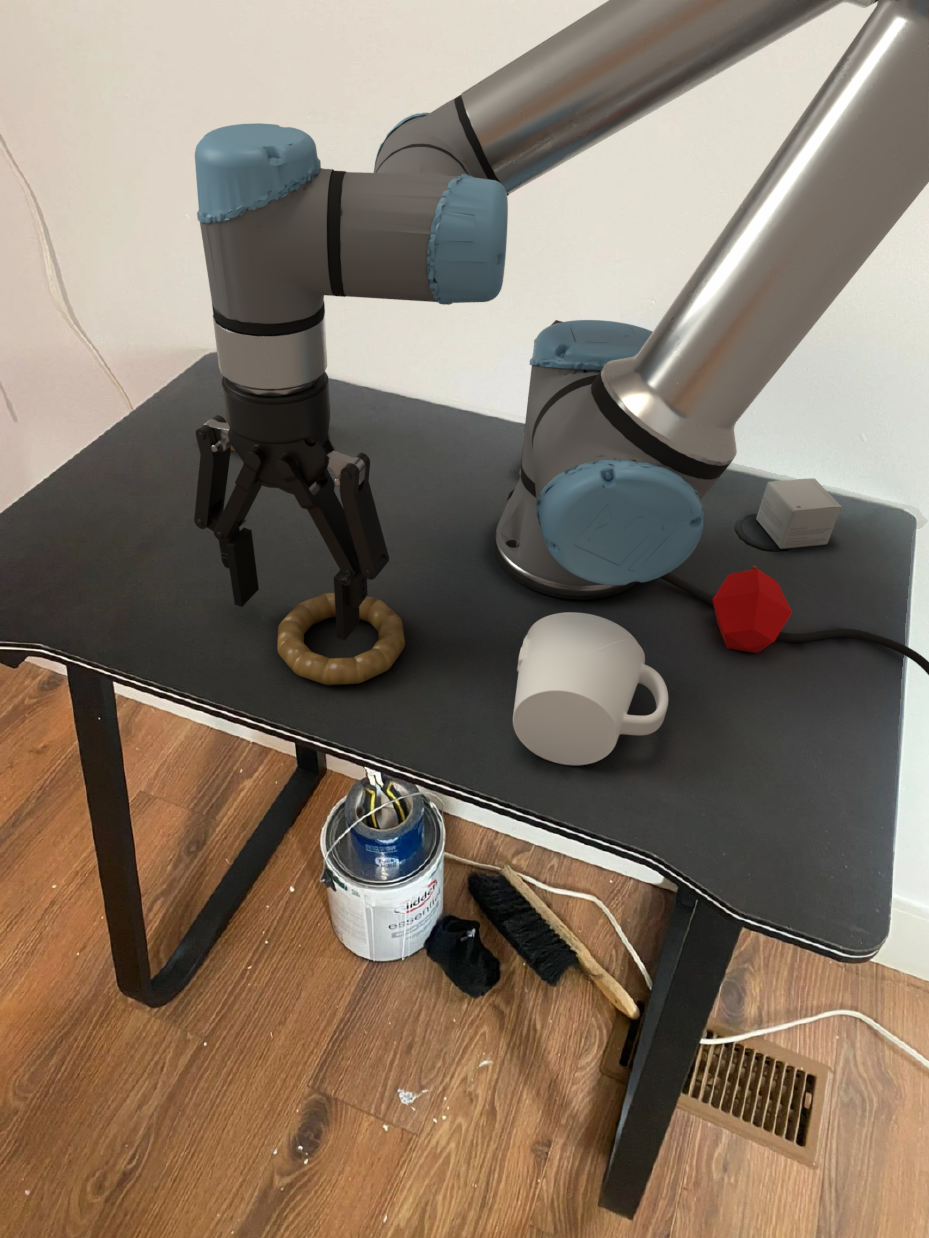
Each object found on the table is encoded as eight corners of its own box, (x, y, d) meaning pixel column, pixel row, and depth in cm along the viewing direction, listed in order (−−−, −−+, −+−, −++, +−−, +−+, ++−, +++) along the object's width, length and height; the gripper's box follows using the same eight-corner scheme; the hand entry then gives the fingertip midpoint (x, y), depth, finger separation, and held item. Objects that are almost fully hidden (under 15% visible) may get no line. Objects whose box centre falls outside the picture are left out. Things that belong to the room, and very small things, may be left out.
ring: (423, 626, 82) (424, 608, 81) (369, 705, 75) (368, 686, 73) (317, 593, 85) (316, 575, 84) (254, 666, 78) (251, 647, 76)
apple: (793, 631, 76) (797, 551, 80) (708, 625, 78) (716, 548, 82) (787, 669, 82) (791, 593, 86) (709, 663, 84) (716, 589, 88)
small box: (829, 545, 95) (844, 505, 92) (779, 550, 94) (792, 510, 91) (801, 514, 100) (815, 475, 96) (753, 519, 98) (765, 480, 95)
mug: (498, 750, 72) (506, 677, 67) (522, 671, 79) (531, 599, 74) (651, 785, 70) (672, 713, 65) (662, 701, 77) (681, 629, 72)
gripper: (438, 384, 65) (430, 623, 80) (176, 322, 71) (213, 556, 85) (391, 431, 60) (392, 678, 74) (112, 360, 65) (163, 602, 80)
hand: (296, 613), depth 80 cm, fingers open, 9 cm apart
